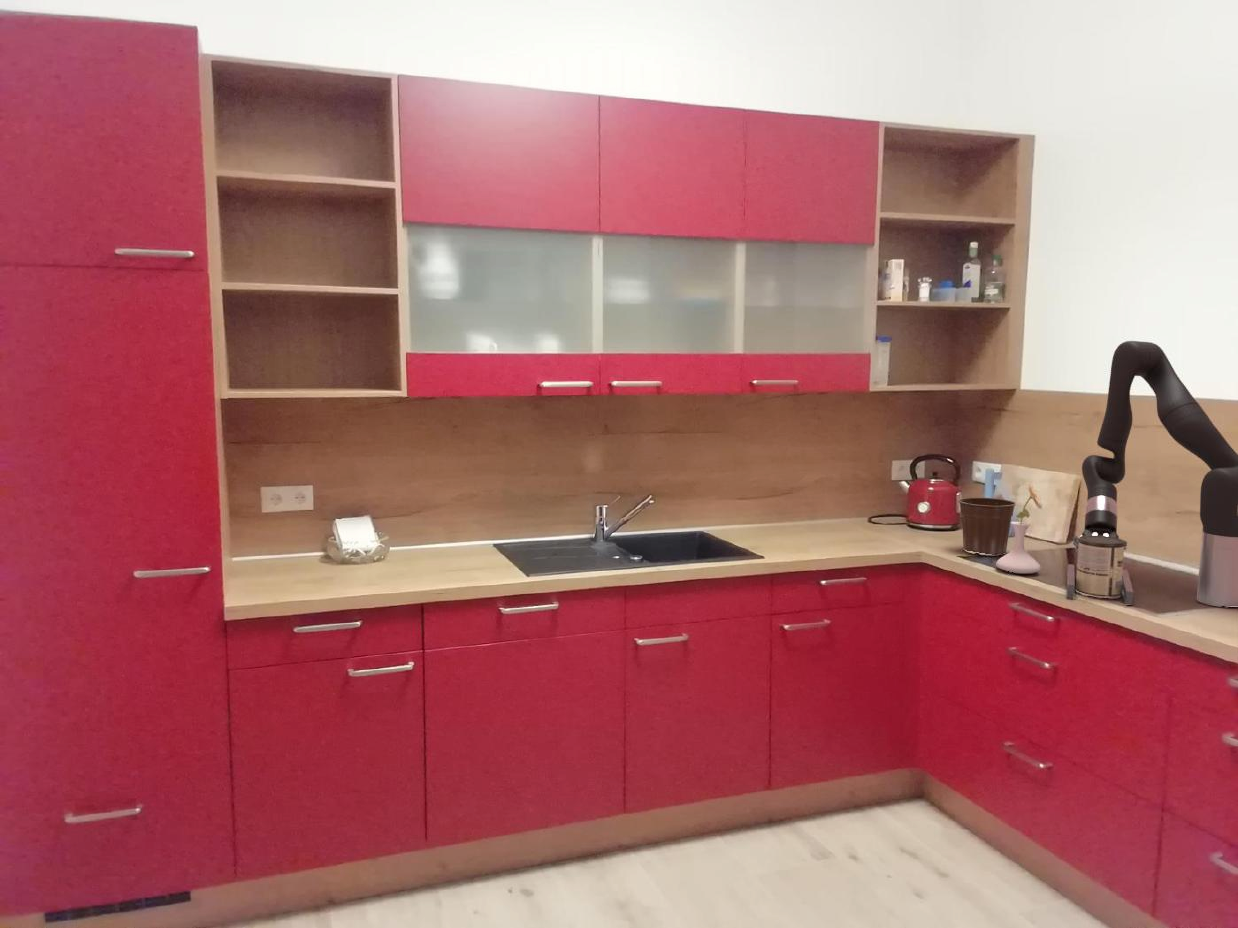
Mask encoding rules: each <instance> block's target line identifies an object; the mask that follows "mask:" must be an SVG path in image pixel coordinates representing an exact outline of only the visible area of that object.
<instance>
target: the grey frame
mask: <svg viewBox="0 0 1238 928" xmlns="http://www.w3.org/2000/svg"><path fill="white" fill-rule="evenodd" d="M1067 565H1068V566H1067V580H1066V582H1067V583H1066V599H1067V600H1068V599H1069V600H1074V599H1075V589H1076V580H1075V578H1076V577H1075V575H1076V574H1075V564H1069V563H1068V564H1067ZM1134 592H1135V591H1134V589H1133V586H1132V582H1131V577H1130V574H1129V571H1128V569H1123V571H1122V585H1121V595H1122V597H1123V603H1124V605H1125V604H1130V605H1132V606H1134V605H1133V603H1134ZM1073 598H1074V599H1073Z"/></svg>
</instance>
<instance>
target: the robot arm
mask: <svg viewBox="0 0 1238 928" xmlns="http://www.w3.org/2000/svg"><path fill="white" fill-rule="evenodd" d="M1135 377H1141V379H1143V380H1144V381H1145V382H1146V383H1147V384H1148V385H1149V387H1150V388H1151V390H1152V391H1153V393H1154V395H1155V397H1156V411H1157V412H1156V413H1157V416H1158V419H1159V421H1160V422H1161V424H1162V426H1163V427H1164V428H1165V430H1166V431H1167V433H1168V434H1169V435H1170V437H1171V438H1172V439H1173V440H1174V441H1175V442H1176V443H1178V444H1179V445H1180V446H1181V447H1182V448H1184V449H1186V450H1187V451H1189V452H1190V453H1191V454H1193V455H1195V456H1196V457H1197V458H1199V459H1200V460H1201V461H1202V462H1204V464H1206V466H1208V468H1209V469H1210V470H1209V471H1208V472H1206V473H1205V475H1204V476H1203V478H1202V481H1201V486H1200V496H1199V497H1200V499H1199V518H1200V521H1201V525H1202V535H1201V544H1200V545H1201V546H1200V555H1199V557H1200V558H1199V567H1198V579H1197V590H1196V601H1198V602H1199V603H1201V604H1205V605H1207V606H1213V607H1219V608H1223V607H1222V606H1238V453H1237V452H1236V451H1235V450H1234V449H1233V447H1231V445H1230V444H1229V443H1228V441H1227V440H1226V439H1225V437H1224V436H1223V435H1222V433H1221V432H1220V431H1219V429H1218V428H1217V427H1216V425H1215V424H1213V422H1212V420H1211V419H1210V417H1209V415H1208V414H1207V413H1206V412H1205V410H1204V409H1203V408H1202V406H1201V405H1200V403H1198V401H1197V400H1196V399H1195V398H1194V396H1193V395H1192V394H1191V391H1189V389H1188V388H1187V387H1186V385H1185V384H1184V382H1183V381H1182V380H1181V378H1180V377H1179V376H1178V374H1177V373H1176V371H1175V369H1174V367H1173V366H1172V364H1171V361H1170V360H1169V359H1168V356H1167V354H1166V353H1165V352H1164V350H1163V349H1162V347H1160V346H1159V345H1158V344H1156V343H1154V342H1152V341H1151V342H1149V341H1138V340H1125V341H1123V342H1121V343H1120V344H1119V345H1118V346H1117V347H1116V349H1115V350H1114V352H1113V356H1112V360H1111V365H1110V376H1109V383H1108V392H1107V399H1106V400H1107V402H1106V408H1105V412H1104V416H1103V420H1102V423H1101V427H1100V430H1099V434H1098V438H1097V441H1096V443H1097V446H1098V447H1100V448H1102V449H1103V450H1106V451H1109V452H1111V453H1112V454H1113V457H1107V456H1101V455H1095V454H1091V455H1088V456H1087V457H1085V458H1084V460H1083V462H1082V463H1081V464H1082V465H1081V472H1082V477H1083V481H1084V483H1085V486H1086V491H1087V497H1086V499H1087V500H1086V506H1085V514H1084V528H1083V529H1084V531H1083V532H1081V536H1090V535H1092V536H1107V537H1113V538H1118V539H1120V538H1119V535H1118V531H1117V529H1118V506H1117V501H1118V500H1117V499H1118V490H1117V487H1116V486H1115V485H1117V484H1119V483H1121V482H1122V481H1123V480H1124V478H1125V475H1126V447H1127V443H1128V441H1129V440H1128V439H1129V437H1130V434H1131V430H1132V426H1133V410H1132V404H1131V396H1130V395H1131V388H1132V384H1133V382H1134V379H1135ZM1079 537H1080V536H1076V535H1075V536H1073V541H1072V544H1073V545H1074V546H1075V547H1076V549H1078V545H1079V540H1078V538H1079ZM1124 541H1125V545H1124V551H1126V550H1127V546H1128V542H1127V541H1126V540H1124Z"/></svg>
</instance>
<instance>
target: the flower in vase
mask: <svg viewBox="0 0 1238 928" xmlns="http://www.w3.org/2000/svg"><path fill="white" fill-rule="evenodd" d="M1026 486H1027V490H1028V493H1029V498H1028V499H1027V501H1026V502H1025V504H1024V506H1023V508H1022V511H1020V512H1019V513H1018V514H1016V518H1019V519H1020V521H1011V522H1010V525H1011V526H1012V527H1013V531H1014V536H1015V537H1014V538H1015V539H1014V547H1013V548H1012V550H1011V551H1009V552H1008V553H1006V554H1004V555H1003V556H1000V558H999V559H998V560H997V561H996V563H995V565H996V567H997V568H998V569H1000V570H1002V571H1004V570H1005V572H1008V571H1009V572H1008V573H1012V572H1013V573H1012V574H1014V573H1015V574H1022V575H1023V574H1024V575H1025V574H1034V573H1037V572H1039V571H1041V569H1042V568H1041V565H1040V563H1038V562H1037V560H1035V558H1033V557H1032V556H1031V555H1030V554H1029V553H1028V552H1027V550H1026V548H1025V535H1026V532H1027V530H1028V529H1029V527H1030V526H1031V523H1030V522H1029V523H1028V522H1025V521H1023V518H1029V517H1030V512H1029V510H1028V509H1026V507H1027V505H1028V503H1029V501H1031V499H1032V501H1033V503H1034V504H1035V506H1036V507H1037V508H1038V509H1039V510H1042V509H1043V506H1044V505H1043V503H1042V502H1041V497H1040V496H1039V495H1038V494H1037V490H1036V488H1034V486H1033V484H1032V483H1031V482H1030V483H1029V482H1027V485H1026Z"/></svg>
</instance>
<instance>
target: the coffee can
mask: <svg viewBox="0 0 1238 928" xmlns="http://www.w3.org/2000/svg"><path fill="white" fill-rule="evenodd" d="M1078 537H1079V538H1078V540H1079V545H1078V548H1077V561H1076V562H1077V564H1076V577H1075V578H1076V580H1075V590H1077V591H1079V592H1082V593H1085V594H1088V595H1092V596H1095V597H1104V598H1109V599H1108V600H1115V599H1120V598H1121V597H1122V589H1121V585H1122V571H1123V570H1124V569H1123V568H1124V555H1125V550H1124V545H1125V541H1126V540H1124V539H1121V538H1119V539H1118V538H1113V537H1107V536H1092V535H1090V536H1082V535H1080V536H1078Z"/></svg>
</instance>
